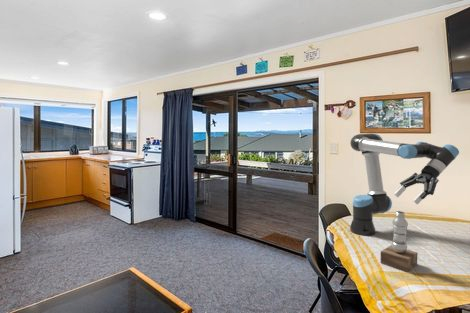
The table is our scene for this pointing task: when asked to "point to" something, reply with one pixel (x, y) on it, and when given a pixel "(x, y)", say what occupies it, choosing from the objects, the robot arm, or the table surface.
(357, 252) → the table surface
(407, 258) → the walnut block
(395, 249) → the plastic bottle
